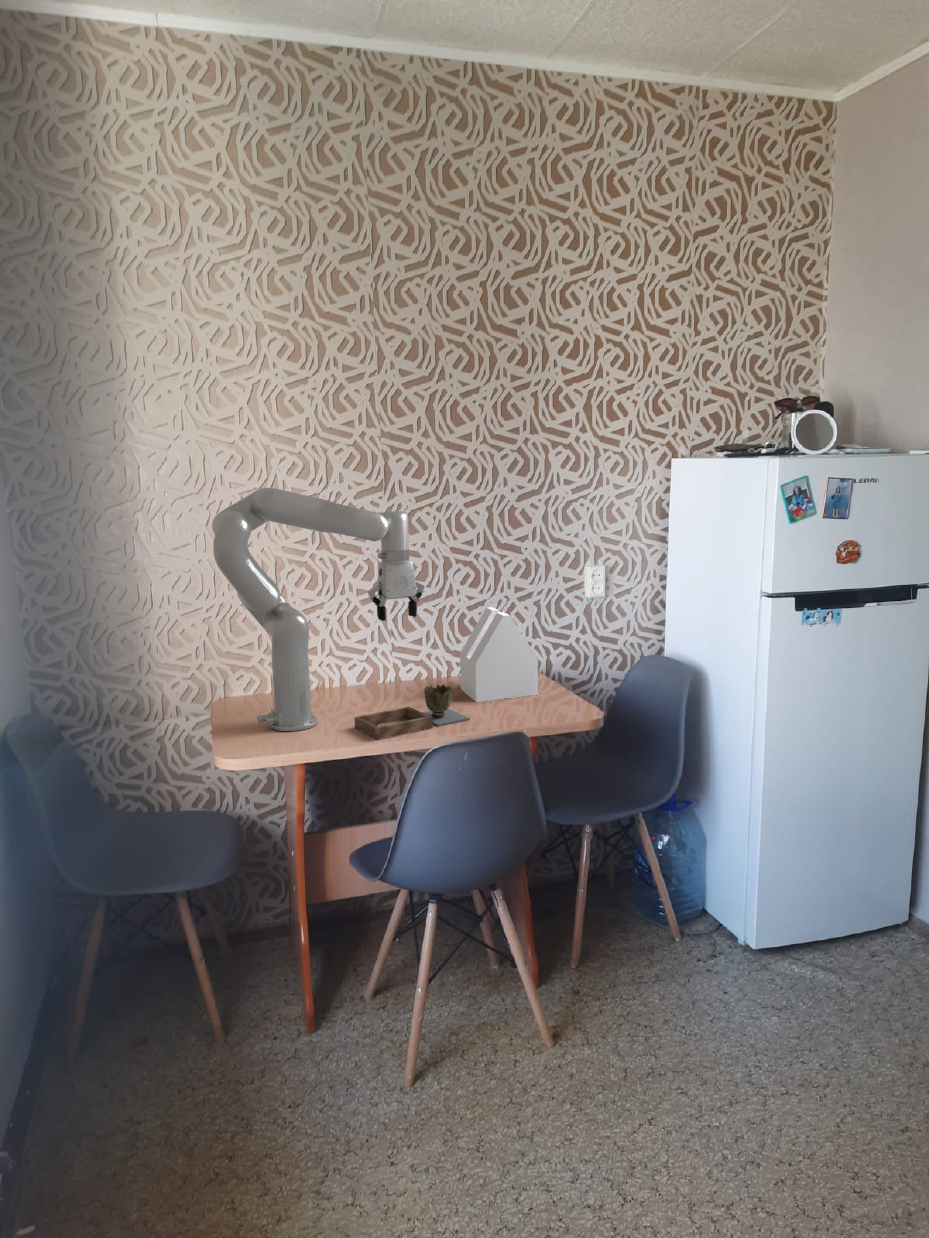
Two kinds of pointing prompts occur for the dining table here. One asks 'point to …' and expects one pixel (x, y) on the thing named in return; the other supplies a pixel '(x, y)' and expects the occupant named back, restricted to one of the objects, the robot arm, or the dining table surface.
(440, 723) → the mat
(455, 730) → the dining table surface
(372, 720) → the frame
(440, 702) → the cup
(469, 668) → the grey slotted house block
